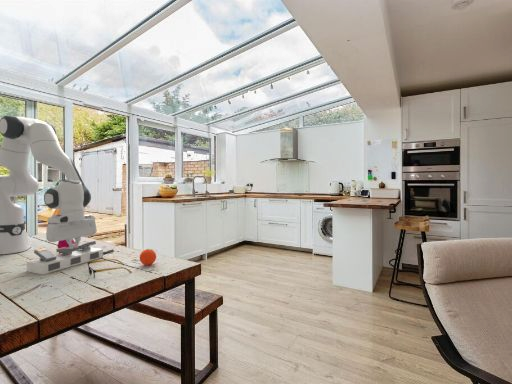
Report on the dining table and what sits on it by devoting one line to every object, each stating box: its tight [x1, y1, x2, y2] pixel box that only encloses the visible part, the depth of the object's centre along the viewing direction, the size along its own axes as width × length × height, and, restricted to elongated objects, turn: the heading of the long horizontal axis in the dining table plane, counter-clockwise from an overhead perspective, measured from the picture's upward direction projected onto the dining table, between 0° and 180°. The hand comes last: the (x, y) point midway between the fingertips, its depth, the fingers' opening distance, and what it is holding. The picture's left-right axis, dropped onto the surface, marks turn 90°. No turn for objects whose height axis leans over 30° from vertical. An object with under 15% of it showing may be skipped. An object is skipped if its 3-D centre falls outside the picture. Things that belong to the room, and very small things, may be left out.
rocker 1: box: [33, 247, 57, 262], centre depth 117 cm, size 8×4×2 cm, turn 68°
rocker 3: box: [78, 240, 97, 250], centre depth 133 cm, size 8×4×2 cm, turn 67°
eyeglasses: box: [86, 258, 132, 279], centre depth 116 cm, size 14×14×4 cm
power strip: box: [26, 246, 115, 275], centre depth 130 cm, size 10×37×5 cm, turn 158°
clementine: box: [139, 248, 158, 266], centre depth 125 cm, size 8×7×7 cm
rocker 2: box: [55, 247, 78, 253], centre depth 125 cm, size 8×4×2 cm, turn 67°
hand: (73, 248), depth 123 cm, fingers closed, pressing on rocker 2
